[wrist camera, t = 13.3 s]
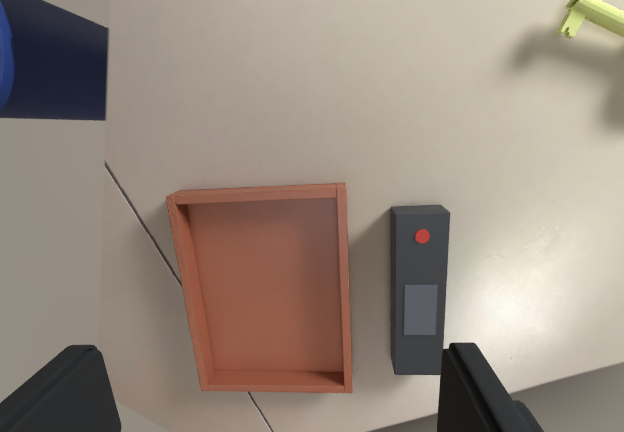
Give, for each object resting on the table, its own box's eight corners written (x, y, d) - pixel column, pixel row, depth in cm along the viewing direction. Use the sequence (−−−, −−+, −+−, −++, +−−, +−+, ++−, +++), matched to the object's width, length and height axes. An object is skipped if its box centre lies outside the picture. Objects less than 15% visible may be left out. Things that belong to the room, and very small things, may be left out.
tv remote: (390, 356, 33) (394, 376, 31) (390, 206, 29) (395, 214, 27) (434, 356, 33) (442, 376, 30) (440, 204, 29) (451, 212, 26)
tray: (210, 372, 36) (201, 390, 33) (179, 190, 30) (165, 196, 28) (351, 374, 34) (352, 393, 32) (345, 182, 29) (345, 188, 26)
